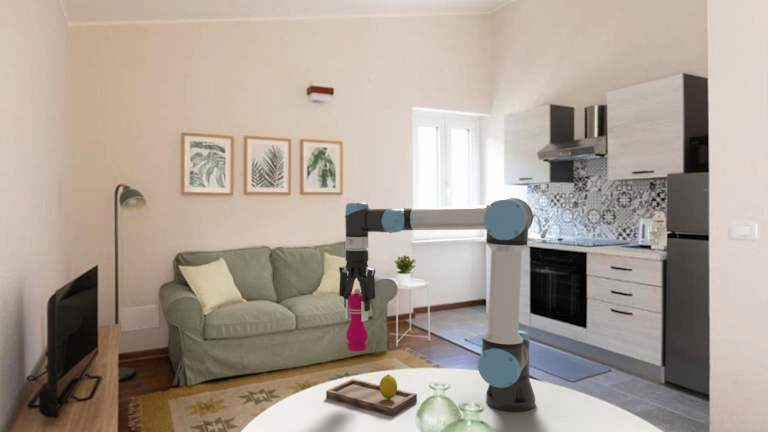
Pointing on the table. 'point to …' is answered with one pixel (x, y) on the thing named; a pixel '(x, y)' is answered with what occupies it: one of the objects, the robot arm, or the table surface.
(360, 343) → the pepper mill
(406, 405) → the walnut tray
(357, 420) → the table surface
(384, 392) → the lemon
